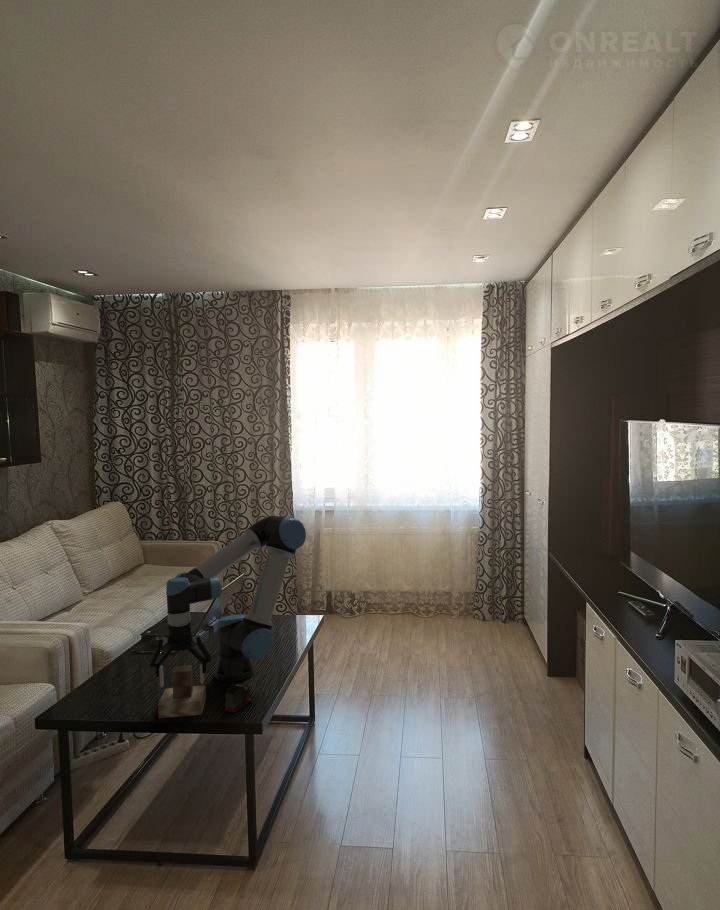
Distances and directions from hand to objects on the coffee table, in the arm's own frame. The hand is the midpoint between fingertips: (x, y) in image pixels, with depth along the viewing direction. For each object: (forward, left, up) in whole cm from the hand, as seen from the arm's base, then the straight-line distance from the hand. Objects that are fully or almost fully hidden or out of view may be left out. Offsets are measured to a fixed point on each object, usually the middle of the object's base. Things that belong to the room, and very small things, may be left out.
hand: (182, 684), depth 222 cm
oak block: (0, 0, -9) cm, 9 cm away
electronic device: (-19, +4, -8) cm, 21 cm away
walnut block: (0, 0, -4) cm, 4 cm away
